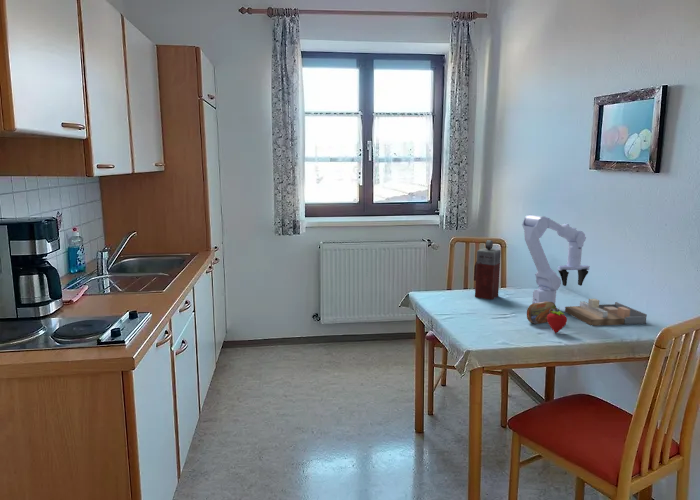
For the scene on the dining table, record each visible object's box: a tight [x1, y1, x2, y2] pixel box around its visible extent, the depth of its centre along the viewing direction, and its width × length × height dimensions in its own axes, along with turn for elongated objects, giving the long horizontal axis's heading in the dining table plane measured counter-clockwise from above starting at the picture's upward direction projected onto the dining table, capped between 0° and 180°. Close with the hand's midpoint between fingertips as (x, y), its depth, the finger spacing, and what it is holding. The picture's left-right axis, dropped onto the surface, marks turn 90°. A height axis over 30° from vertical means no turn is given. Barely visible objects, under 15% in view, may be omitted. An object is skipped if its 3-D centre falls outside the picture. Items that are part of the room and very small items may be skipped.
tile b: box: [604, 307, 618, 315], centre depth 232 cm, size 4×4×2 cm
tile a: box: [617, 307, 630, 318], centre depth 224 cm, size 4×4×2 cm
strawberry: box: [547, 310, 568, 334], centre depth 206 cm, size 6×8×10 cm
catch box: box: [599, 301, 648, 325], centre depth 228 cm, size 10×20×4 cm, turn 8°
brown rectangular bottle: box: [473, 239, 502, 301], centre depth 261 cm, size 9×11×28 cm
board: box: [564, 305, 625, 326], centre depth 227 cm, size 14×20×2 cm
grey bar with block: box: [579, 298, 608, 318], centre depth 226 cm, size 3×17×6 cm, turn 8°
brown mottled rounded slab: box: [526, 301, 558, 325], centre depth 220 cm, size 15×3×8 cm, turn 117°
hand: (572, 285), depth 246 cm, fingers open, 7 cm apart
